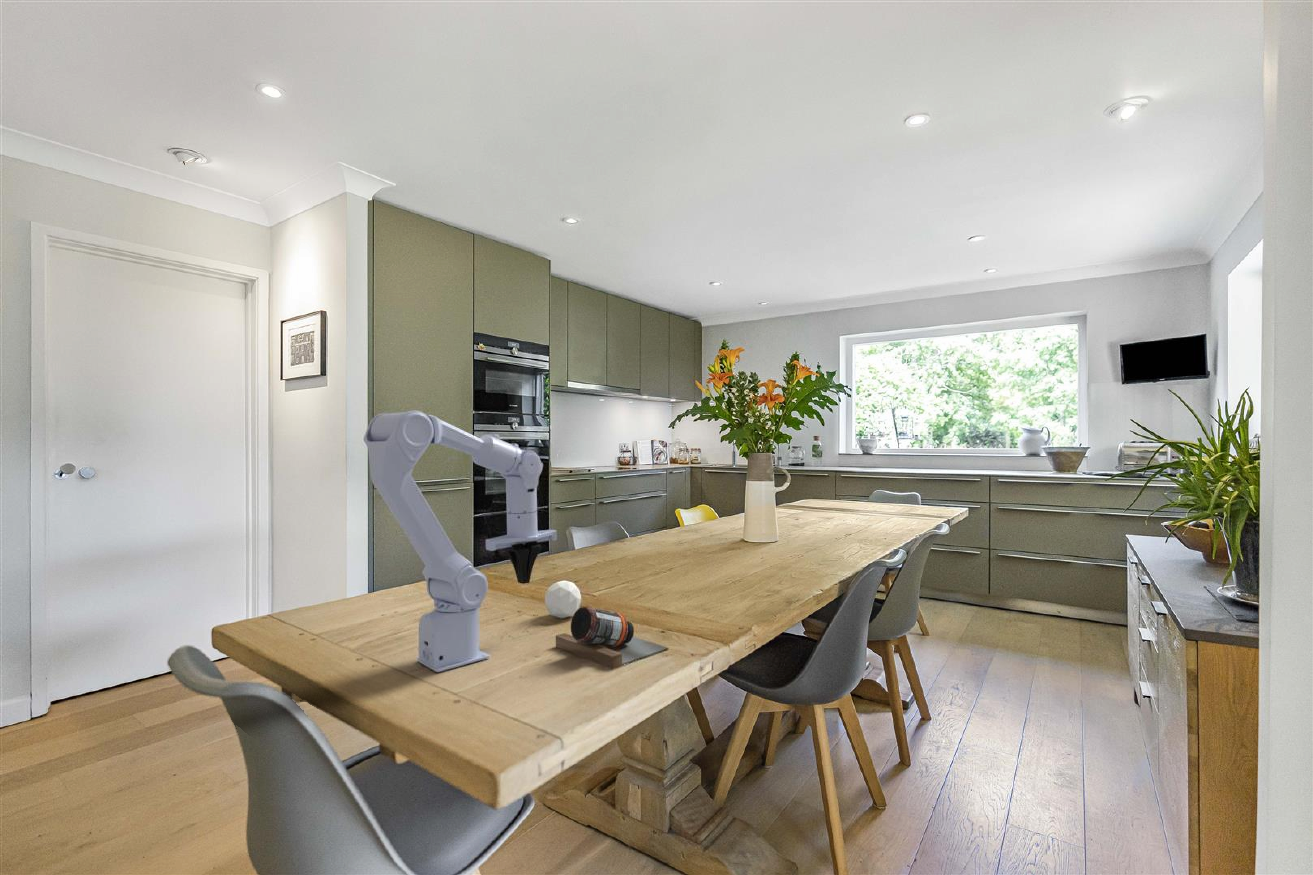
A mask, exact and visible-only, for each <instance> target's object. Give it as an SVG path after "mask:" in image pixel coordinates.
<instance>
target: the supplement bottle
mask: <svg viewBox="0 0 1313 875" xmlns="http://www.w3.org/2000/svg"><path fill="white" fill-rule="evenodd" d="M570 621H571V622H570V633H571V636H573V638H574V639H575V640H577V641H580V642H585V643H590V644H597V645H601V646H607V647H617V646H619V645H621V644H622V643H623V644H627V643H629V642H630V641H631V639H632V638H633V637H634V634H635V630H634V629H635V628H634V625H633V623H632V622H630V621H628V620H627V619H626V618H625V616H624V615H623V614H621V613H617V612H613V611H609V610H605V609H601V608H597V607H592V606H581V607H579V609H578V610H577V611H576V612H575V613H574V614H573V615H572V618H571V620H570Z"/></svg>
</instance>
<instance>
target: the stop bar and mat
mask: <svg viewBox="0 0 1313 875" xmlns="http://www.w3.org/2000/svg"><path fill="white" fill-rule="evenodd" d="M555 647H556V648H558V649H561V650H564V651H566V652H568V651H569V652H568V653H571V654H574V655H577V656H578V657H581V658H583V659H587V660H589V661H591V662H594V663H597V664H599V665H601V666H605V667H607V668H610V669H612V670H614V669H617V668H621V667H622V665H623V666H625V665H624V664H626V665H628V664H627V663H629V664H631V663H634V662H637V661H639V660H638V659H640V660H642V658H643V659H645V657H646V658H648V657H650V656H649V655H651V656H653V655H656V654H660V653H663V652H665V651H668V650H669V647H667V646H663V645H661V644H657V643H655V642H651V641H648V640H645V639H642V638H640V637H636V636H633V638H632V639H631V641H630V642H629V643H627V644H623V643H622V644H621V645H619V646H617V647H607V646H601V645H597V644H590V643H585V642H580V641H577V640H575V639H574V638H573V636H572V634H569V633H566V632H565V633H560V634H556V635H555ZM662 651H663V652H662ZM659 652H660V653H659ZM647 656H648V657H647ZM636 660H637V661H636ZM633 661H634V662H633Z"/></svg>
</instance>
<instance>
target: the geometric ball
mask: <svg viewBox="0 0 1313 875" xmlns="http://www.w3.org/2000/svg"><path fill="white" fill-rule="evenodd" d="M544 602H545V604H544V605H545V609H546V610H547V611H548V613H549V614H550V615H551V616H552V617H556V618H558V619H559V618H560V619H565V618H568V617H571V616H572V617H573V615H574V613H575V612H576V611H577V610H578V609H579V608H580V606H581V602H582V595H581V591H580V589H579V587H578V586H577V585H576V584H575V583H574V582H572V581H568V580H561V581H558V582H557V581H556V582H554V583H553V584H552V585H550V586H549V587H547V590H546V593H545V597H544Z"/></svg>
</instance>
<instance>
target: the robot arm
mask: <svg viewBox="0 0 1313 875" xmlns="http://www.w3.org/2000/svg"><path fill="white" fill-rule="evenodd" d="M363 442H364V443H365V445H366V447H367V449H368V463H369V464H368V465H369V475H370V477H369V478H370V480H371V482H372V485H373V487H374V488H375V489H376V491H377V493H378V494H379V495H380V497H381V499H382V500H383V502H384V503H385V504H386V506H387V508H388V510H389V511H390V512H391V514H392V516H393V517H394V519H395V520H396V522H397V523H398V526H399V527H400V528H401V530H402V531H403V533H404V535H405V536H406V538H407V539H408V541H409V543H410V544H411V546H412V548H414V551H415V552H416V554H417V555H418V557H419V558H420V560H421V561H422V563H423V564H424V568H423V569H422V571H421V574H422V576H423V577H424V579H425V582H426V585H425V586H426V592H427V594H428V595H429V597H430V598H431V599H432V600H433V607H434V609H433V610H432V611H430V612H428V613H424V614H422V615H421V616H420V618H419V624H418V657H417V658H416V661H417V662H418V663H420V664H422V665H424V666H425V667H427V668H429V669H431V670H432V671H434V672H436V673H440V672H444V671H447V670H451V669H454V668H458V667H462V666H465V665H468V664H472V663H475V662H478V661H479V662H480V661H483V660H486V659H489V658H490V654H488V653H487V652H484V651H483V650H480V608H482V603H483V601H484V600H485V598H486V596H487V594H488V591H489V590H488V589H489V582H488V579H487V577H486V575H485V573H483V572H482V571H479V570H477V569H476V568H475V567H474V565H473V563H472V562H471V561H470V560H468V559H467V558H466V557H465V556H463V555H462V554H461V553H459V552H458V551H457V549H456V548H455V547H454V544H453V543H452V541H451V540H450V538H449V537H448V535H447V533H446V531H445V529H444V528H443V526H442V525H441V523H440V522H439V521H440V520H438V518H437V517H436V516H437V515H435V513H434V512H433V510H432V509H431V506H430V505H429V503H428V502H427V499H426V498H425V496H424V495H423V493H422V490H420V488H419V486H418V485H417V483H416V482H415V480H414V478H413V476H412V474H413V471H414V468H415V466H416V464H417V463H418V461H419V460H420V459H421V457H422V456H423V454H425V451H426V450H427V449H428V448H429V446H430V445H434V444H437V445H441V446H443V447H446V448H450V449H453V450H455V451H459V452H462V453H464V454H467V455H470V456H471V459H472V461H473V463H474V464H475V465H478V466H480V467H483V468H485V469H489V470H491V471H494V472H496V473H499V474H500V475H501V477H502V478H504V479H505V494H506V496H505V497H506V501H505V502H506V503H505V504H506V534H505V535H501V536H496V537H492V538H486V539H485V550H487V551H490V552H493V551H496V550H500V549H501V550H502V549H504V551H505V553H506V554H507V556H508V558H509V560H510V562H511V564H512V566H513V569H514V572H515V575H516V580H517V583H518V584H521V585H525V584H529V583H530V580H531V576H532V571H533V568H534V565H535V562H536V559H537V557H538V556H539V553H540V552H541V551H542V550H541V549H542V548H541V547H542V546H541V544H538V543H543V542H548V541H557V540H558V537H557V530H555V529H545V530H538V498H537V496H538V495H537V493H538V492H537V489H538V488H537V487H538V485H539V477H540V475H541V474H542V471H543V469H544V468H543V467H544V463H543V462H542V461H541V458H540V456H539V455H538V454H537V453H536V451H534V450H531V449H521V448H520V447H519V444H518V443H513V442H512V443H509V442H507V441H504V440H502V439H500V435H499V434H496V433H489V434H483V435H481V436H480V437H478V436H475V435H473V434H471V433H470V432H467V431H466V430H463V429H461V428H458V427H456V426H455V425H453V424H451V423H449V422H446V421H444V420H442V419H440V418H438V417H437V416H436V415H432V414H426V413H424V412H423V411H420V410H407V411H405V412H404V411H403V412H392V413H390V412H383V413H379V414H377V415H375V416H374V417H373V418H372V419H371V420H370V421H369V424H368V426H367V428H366V431H365V433H364V436H363Z"/></svg>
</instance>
